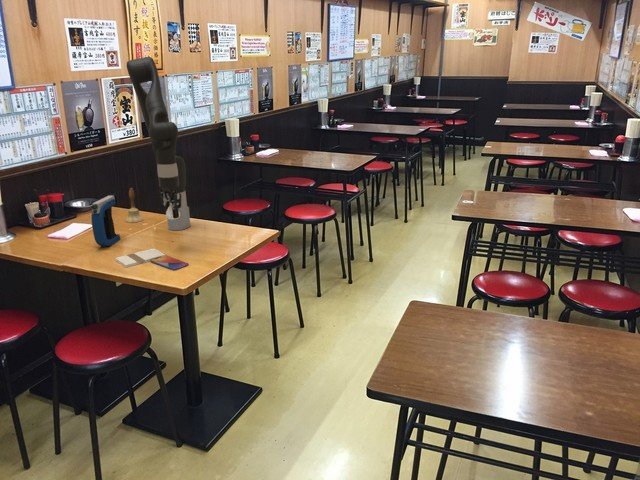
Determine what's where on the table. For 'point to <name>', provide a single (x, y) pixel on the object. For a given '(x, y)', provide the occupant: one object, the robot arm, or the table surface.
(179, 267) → the smartphone
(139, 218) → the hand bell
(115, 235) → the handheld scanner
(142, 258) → the white panel
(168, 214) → the garlic bulb
